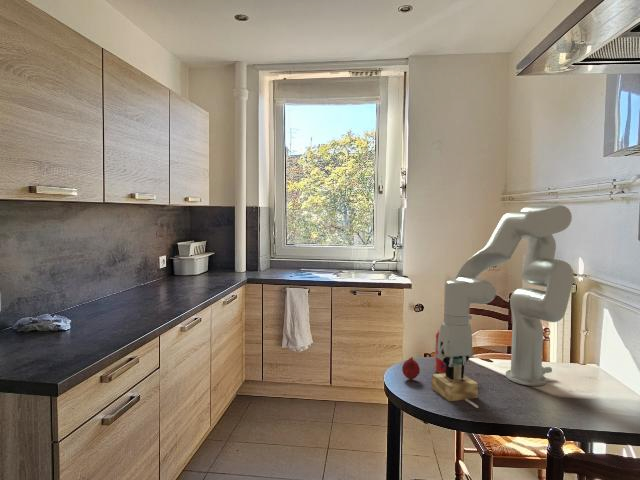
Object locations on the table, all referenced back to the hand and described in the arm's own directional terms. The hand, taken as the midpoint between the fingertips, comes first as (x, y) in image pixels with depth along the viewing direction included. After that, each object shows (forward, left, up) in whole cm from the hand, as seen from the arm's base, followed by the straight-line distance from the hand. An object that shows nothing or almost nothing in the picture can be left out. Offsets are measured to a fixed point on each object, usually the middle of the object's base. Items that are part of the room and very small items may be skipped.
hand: (454, 376), depth 131 cm
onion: (+8, -13, -5) cm, 16 cm away
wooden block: (0, 0, -5) cm, 5 cm away
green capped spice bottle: (0, 0, -5) cm, 5 cm away
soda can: (-8, -16, -5) cm, 19 cm away
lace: (0, +9, -5) cm, 10 cm away
